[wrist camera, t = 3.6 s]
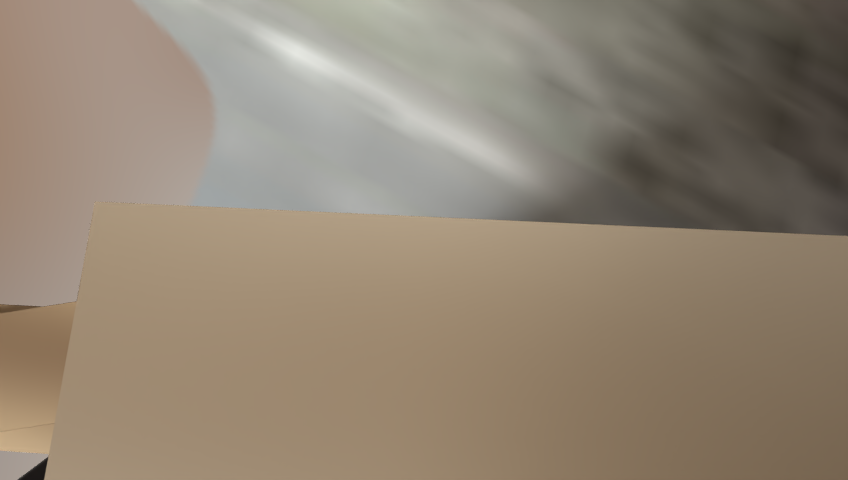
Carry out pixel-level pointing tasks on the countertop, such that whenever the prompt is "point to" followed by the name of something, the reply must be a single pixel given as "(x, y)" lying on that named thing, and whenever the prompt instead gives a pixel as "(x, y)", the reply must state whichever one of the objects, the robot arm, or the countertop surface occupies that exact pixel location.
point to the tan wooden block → (449, 350)
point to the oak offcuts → (31, 373)
